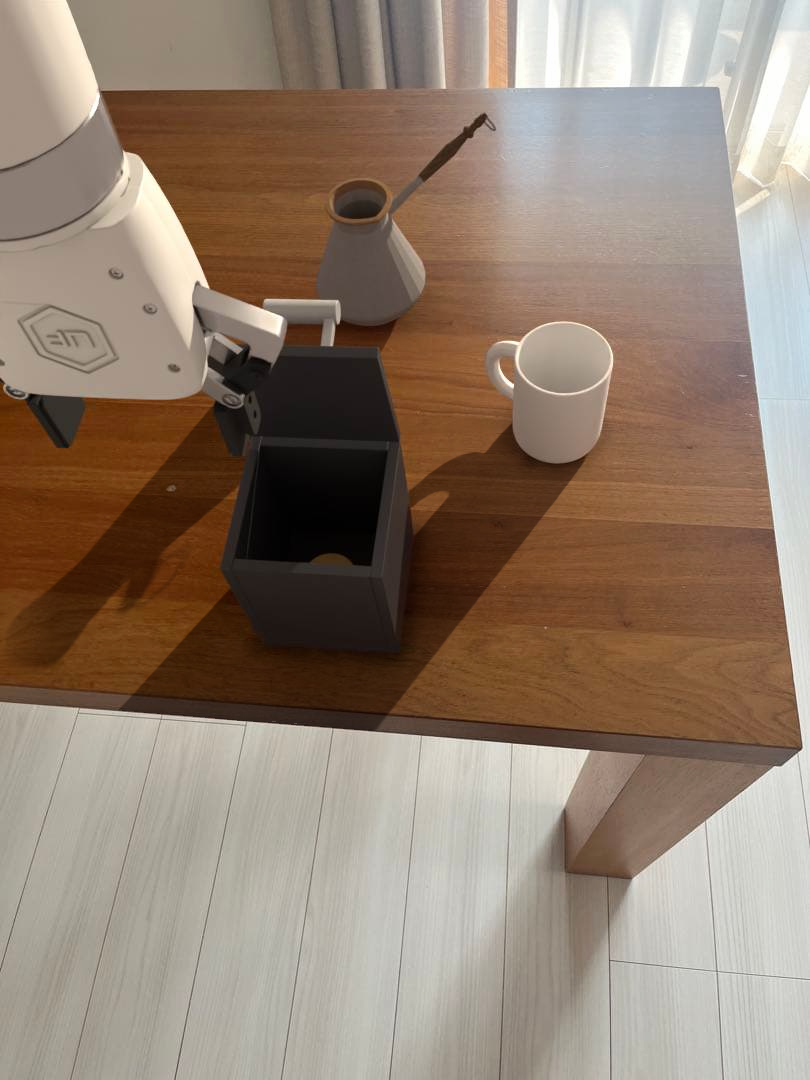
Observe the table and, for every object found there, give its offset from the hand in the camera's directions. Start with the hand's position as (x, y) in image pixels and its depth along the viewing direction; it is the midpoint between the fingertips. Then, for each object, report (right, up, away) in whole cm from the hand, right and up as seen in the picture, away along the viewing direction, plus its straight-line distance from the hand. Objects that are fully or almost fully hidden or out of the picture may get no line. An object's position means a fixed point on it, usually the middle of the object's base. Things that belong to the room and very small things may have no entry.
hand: (157, 431), depth 48 cm
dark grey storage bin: (+8, -10, +29) cm, 32 cm away
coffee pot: (+14, +22, +47) cm, 54 cm away
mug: (+26, +5, +37) cm, 45 cm away
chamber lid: (+7, +4, +14) cm, 16 cm away
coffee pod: (+8, -11, +28) cm, 31 cm away
